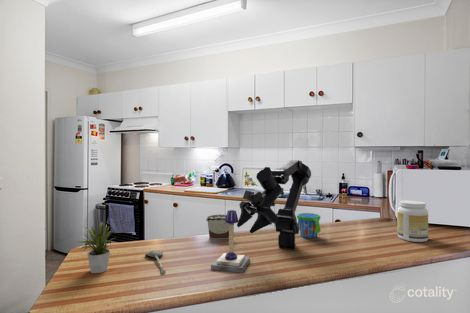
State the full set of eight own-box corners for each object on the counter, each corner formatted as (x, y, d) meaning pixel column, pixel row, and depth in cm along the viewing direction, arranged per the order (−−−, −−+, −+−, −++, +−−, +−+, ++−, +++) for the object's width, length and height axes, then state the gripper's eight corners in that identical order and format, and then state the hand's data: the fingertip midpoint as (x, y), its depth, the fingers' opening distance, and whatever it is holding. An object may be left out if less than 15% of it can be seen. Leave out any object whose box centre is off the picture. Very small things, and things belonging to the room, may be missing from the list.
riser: (249, 261, 108) (249, 254, 108) (242, 272, 97) (242, 265, 97) (221, 258, 111) (221, 251, 111) (210, 269, 100) (210, 261, 100)
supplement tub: (433, 239, 133) (433, 202, 133) (420, 244, 127) (420, 205, 126) (405, 233, 144) (405, 199, 143) (392, 237, 137) (392, 201, 136)
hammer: (161, 254, 118) (144, 257, 115) (161, 246, 118) (144, 249, 115) (172, 273, 98) (152, 277, 95) (172, 262, 98) (151, 267, 95)
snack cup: (291, 232, 146) (291, 212, 146) (311, 231, 148) (311, 211, 148) (305, 242, 130) (305, 219, 130) (327, 240, 133) (327, 218, 133)
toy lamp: (224, 255, 106) (224, 209, 106) (237, 255, 107) (237, 209, 106) (225, 260, 101) (225, 212, 101) (238, 259, 102) (239, 212, 102)
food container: (234, 235, 141) (234, 214, 141) (232, 239, 135) (232, 217, 135) (208, 234, 142) (208, 214, 142) (206, 238, 136) (206, 216, 136)
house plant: (76, 264, 104) (76, 219, 104) (118, 259, 110) (118, 215, 110) (71, 281, 91) (71, 228, 91) (119, 273, 97) (119, 224, 96)
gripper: (243, 180, 117) (218, 210, 112) (270, 185, 100) (242, 221, 95) (260, 198, 121) (236, 228, 116) (289, 205, 104) (263, 241, 99)
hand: (243, 229), depth 106 cm, fingers open, 9 cm apart
